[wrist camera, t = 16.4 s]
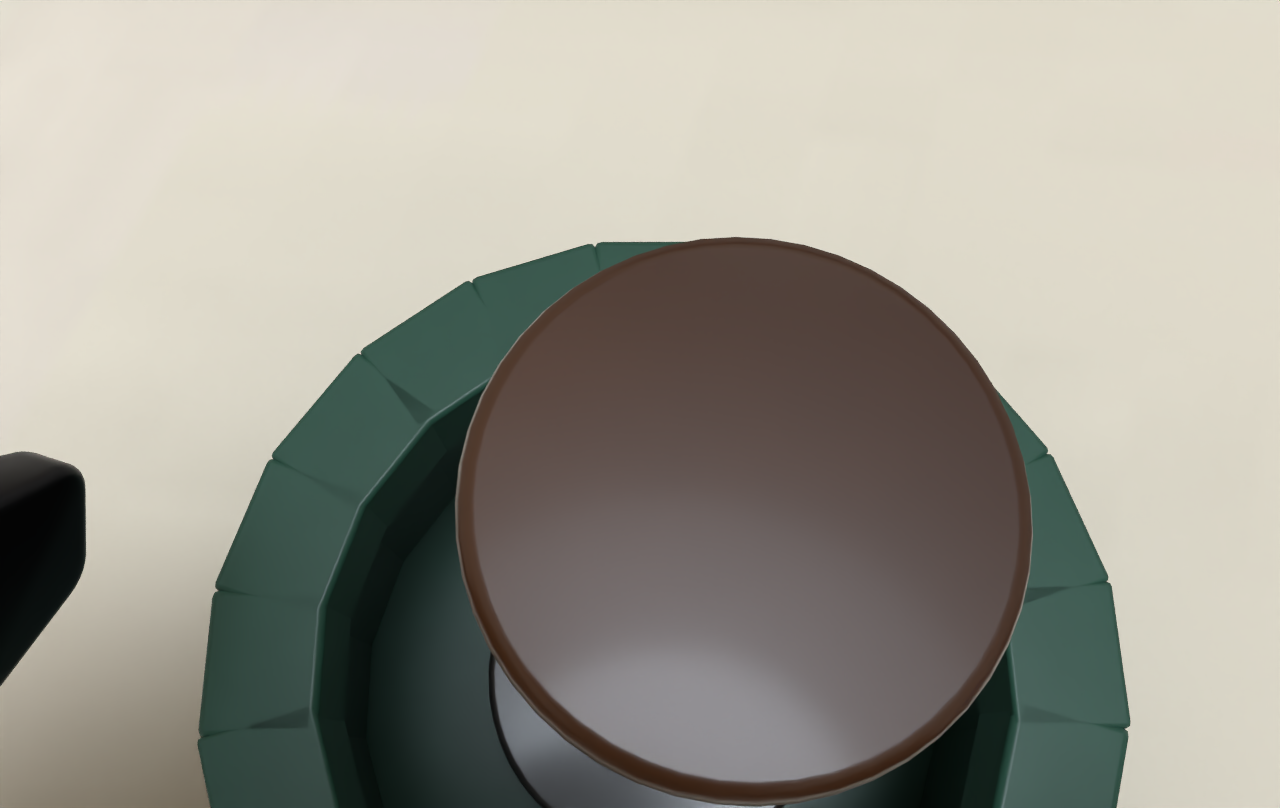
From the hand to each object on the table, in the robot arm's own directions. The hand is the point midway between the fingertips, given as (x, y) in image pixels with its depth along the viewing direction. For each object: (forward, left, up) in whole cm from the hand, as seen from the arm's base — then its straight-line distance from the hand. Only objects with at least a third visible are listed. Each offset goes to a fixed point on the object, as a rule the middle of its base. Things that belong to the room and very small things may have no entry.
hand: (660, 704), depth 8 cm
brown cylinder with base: (0, 0, -9) cm, 9 cm away
